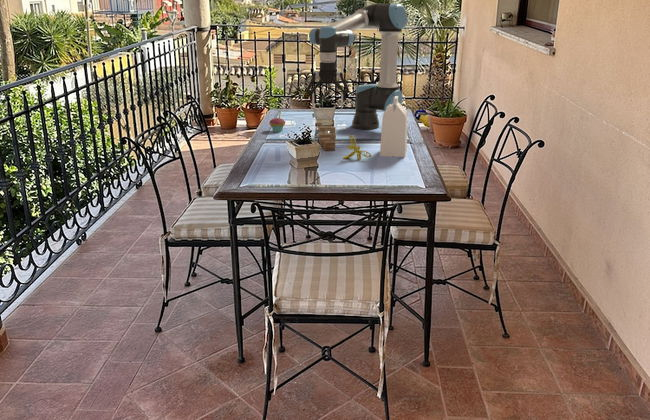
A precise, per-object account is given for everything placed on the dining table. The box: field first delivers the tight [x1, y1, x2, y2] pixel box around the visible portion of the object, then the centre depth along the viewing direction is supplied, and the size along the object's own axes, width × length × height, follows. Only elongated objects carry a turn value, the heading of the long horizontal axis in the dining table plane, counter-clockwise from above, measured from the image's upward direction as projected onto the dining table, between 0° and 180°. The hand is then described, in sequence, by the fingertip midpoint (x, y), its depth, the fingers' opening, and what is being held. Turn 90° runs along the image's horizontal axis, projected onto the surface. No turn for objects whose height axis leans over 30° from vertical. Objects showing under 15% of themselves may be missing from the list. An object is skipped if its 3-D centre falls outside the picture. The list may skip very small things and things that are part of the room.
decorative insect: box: [343, 134, 372, 160], centre depth 258 cm, size 13×3×10 cm
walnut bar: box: [319, 137, 336, 152], centre depth 276 cm, size 11×4×4 cm, turn 14°
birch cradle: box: [318, 126, 336, 144], centre depth 290 cm, size 16×8×5 cm, turn 179°
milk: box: [379, 96, 408, 158], centre depth 264 cm, size 12×12×26 cm
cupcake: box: [268, 109, 286, 133], centre depth 307 cm, size 9×8×12 cm
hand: (327, 107), depth 272 cm, fingers open, 13 cm apart
